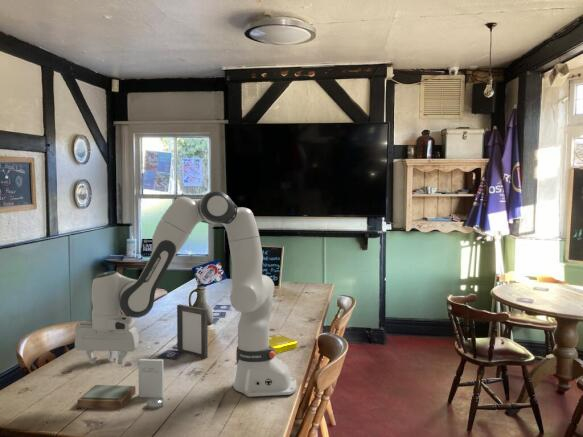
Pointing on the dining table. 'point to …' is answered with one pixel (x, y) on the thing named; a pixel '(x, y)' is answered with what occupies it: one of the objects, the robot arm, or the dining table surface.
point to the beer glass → (114, 356)
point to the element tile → (282, 343)
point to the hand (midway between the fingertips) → (107, 363)
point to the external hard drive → (151, 378)
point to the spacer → (155, 403)
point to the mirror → (106, 397)
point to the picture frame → (192, 331)
